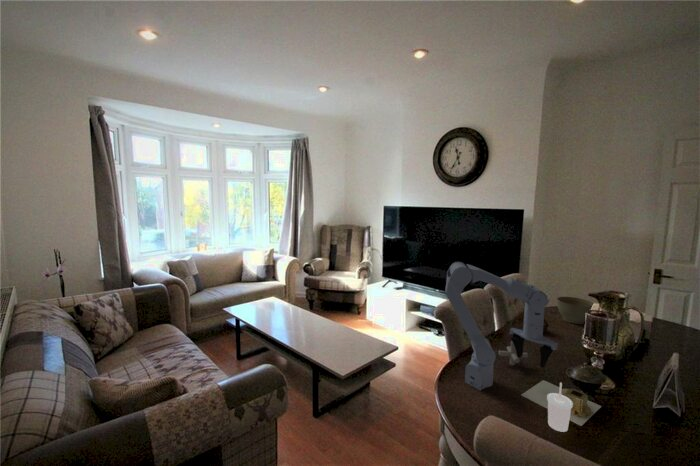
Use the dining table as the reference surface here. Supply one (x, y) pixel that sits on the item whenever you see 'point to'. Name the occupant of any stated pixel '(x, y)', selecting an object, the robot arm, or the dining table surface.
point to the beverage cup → (559, 410)
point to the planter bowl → (573, 309)
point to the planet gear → (579, 403)
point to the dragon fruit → (543, 325)
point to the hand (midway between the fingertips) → (531, 361)
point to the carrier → (544, 388)
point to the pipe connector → (512, 354)
